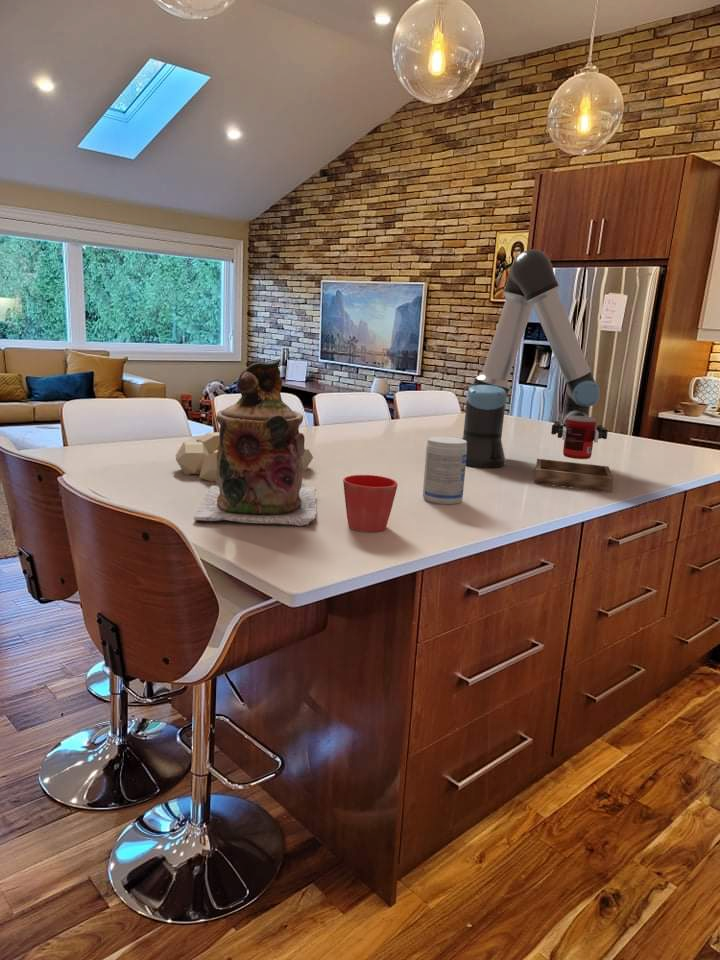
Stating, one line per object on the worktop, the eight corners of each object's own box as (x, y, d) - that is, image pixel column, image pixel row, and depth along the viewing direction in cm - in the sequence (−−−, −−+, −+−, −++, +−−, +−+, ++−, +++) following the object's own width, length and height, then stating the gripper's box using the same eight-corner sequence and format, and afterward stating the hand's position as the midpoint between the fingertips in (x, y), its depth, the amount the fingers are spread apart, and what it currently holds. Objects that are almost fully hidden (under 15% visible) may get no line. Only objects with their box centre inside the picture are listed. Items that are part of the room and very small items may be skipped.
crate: (534, 483, 177) (536, 469, 176) (535, 471, 192) (537, 458, 191) (611, 492, 172) (613, 478, 171) (606, 479, 187) (608, 466, 186)
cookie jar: (210, 491, 149) (210, 351, 142) (316, 496, 152) (322, 358, 144) (190, 524, 126) (190, 358, 118) (317, 529, 128) (324, 365, 120)
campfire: (209, 452, 192) (209, 395, 188) (320, 462, 188) (323, 404, 184) (156, 479, 158) (155, 410, 154) (291, 492, 154) (293, 421, 150)
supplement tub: (468, 505, 151) (474, 444, 147) (429, 506, 149) (435, 443, 145) (453, 494, 160) (459, 436, 157) (416, 494, 158) (421, 435, 154)
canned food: (587, 454, 184) (592, 416, 181) (594, 460, 176) (599, 420, 174) (559, 452, 185) (564, 414, 182) (565, 458, 177) (570, 418, 174)
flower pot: (366, 515, 138) (369, 471, 136) (404, 529, 131) (408, 482, 128) (329, 524, 131) (332, 477, 129) (367, 539, 123) (371, 490, 121)
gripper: (610, 440, 194) (618, 453, 173) (540, 434, 199) (539, 446, 178) (614, 415, 192) (622, 425, 171) (543, 409, 197) (542, 419, 176)
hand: (580, 436), depth 174 cm, fingers closed on canned food, 8 cm apart
